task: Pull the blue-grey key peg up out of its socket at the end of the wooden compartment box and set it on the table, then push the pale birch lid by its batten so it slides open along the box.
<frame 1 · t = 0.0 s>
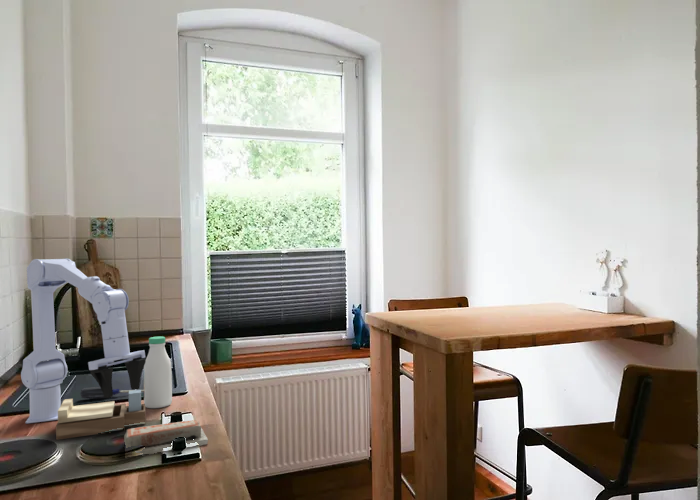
hand: (122, 393, 122), 11 cm above the counter, tool pointing down, fingers open, 7 cm apart
screwdriver: (127, 396, 157), on the counter
wooden compartment box: (93, 427, 129), on the counter
lid: (87, 407, 128), point 5 cm above the counter, slide at 0.0 cm
milk bottle: (158, 405, 147), on the counter
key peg: (135, 421, 133), resting in wooden compartment box
packaged product: (166, 446, 117), on the counter
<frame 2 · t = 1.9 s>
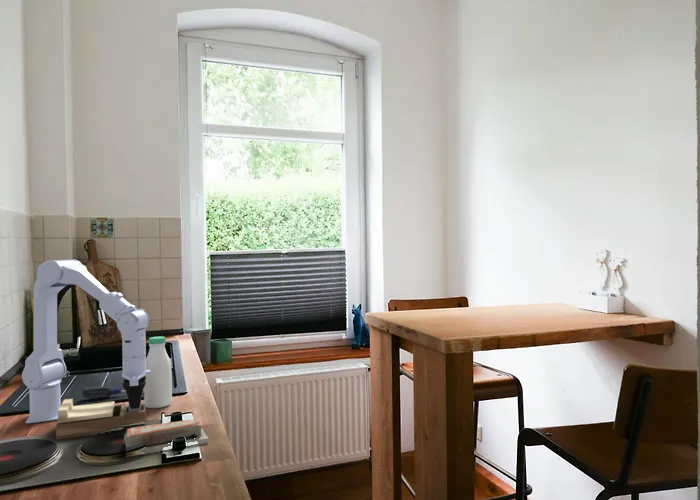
hand: (135, 406, 133), 4 cm above the counter, tool pointing down, fingers closed on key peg, 3 cm apart
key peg: (135, 421, 133), resting in wooden compartment box, touching gripper
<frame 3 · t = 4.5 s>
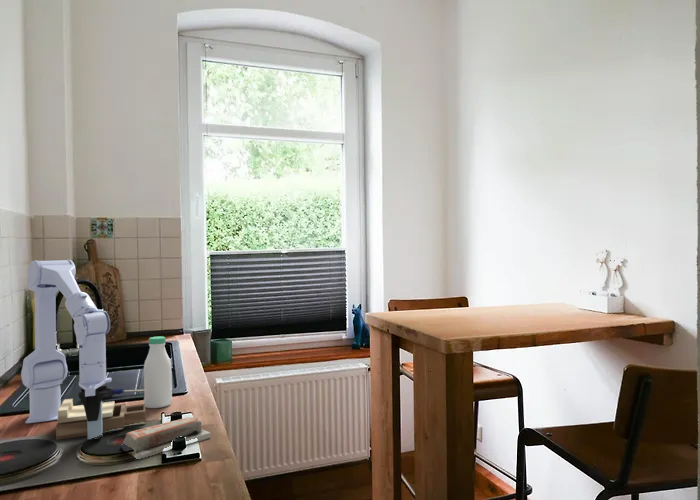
hand: (93, 418, 120), 5 cm above the counter, tool pointing down, fingers closed on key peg, 3 cm apart
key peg: (95, 436, 120), point 1 cm above the counter, touching gripper
when the fingers open (5 cm above the counter, at t = 4.6 s): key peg stays where it is, on the counter.
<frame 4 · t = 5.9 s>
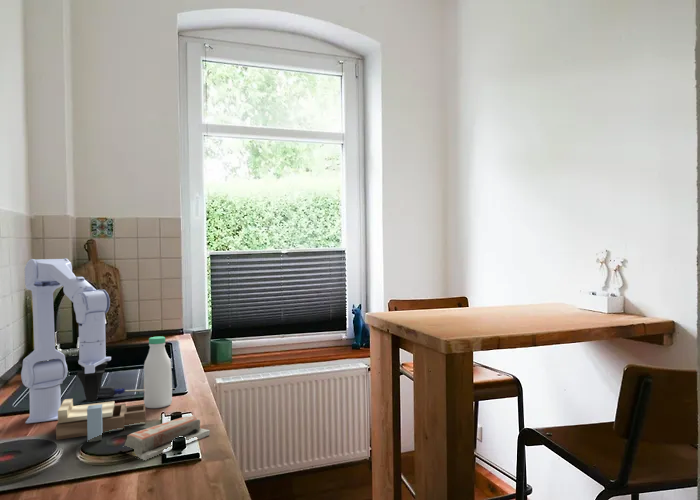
hand: (93, 396, 120), 10 cm above the counter, tool pointing down, fingers open, 6 cm apart
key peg: (95, 439, 120), on the counter
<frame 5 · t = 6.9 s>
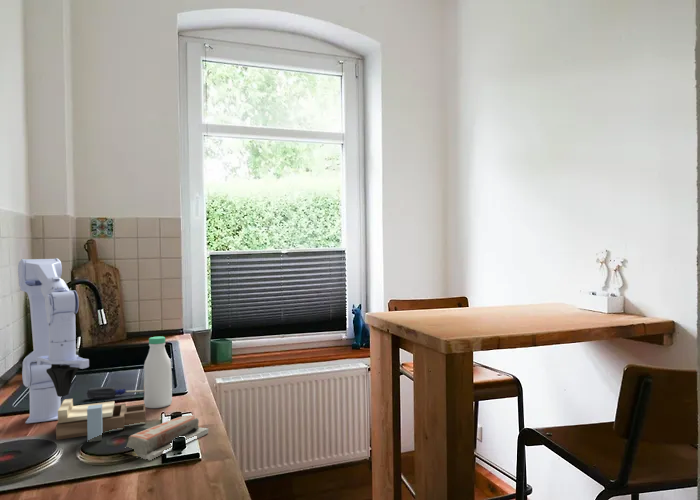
hand: (63, 395, 122), 10 cm above the counter, tool pointing down, fingers closed
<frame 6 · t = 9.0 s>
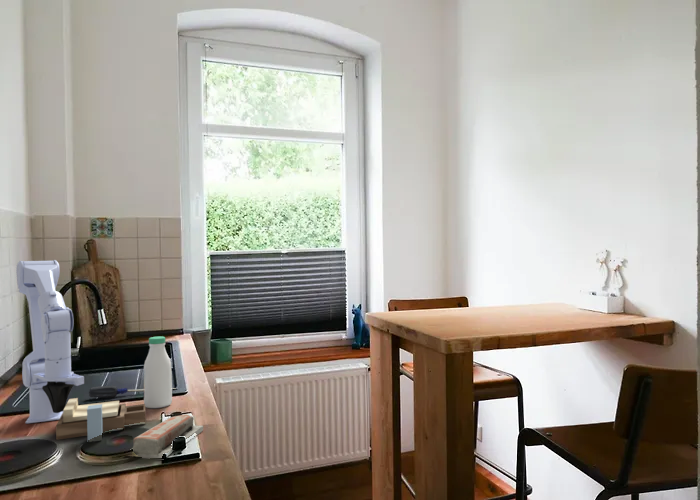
hand: (58, 411, 125), 5 cm above the counter, tool pointing down, fingers closed
lid: (92, 407, 129), point 5 cm above the counter, slide at 1.2 cm, touching gripper
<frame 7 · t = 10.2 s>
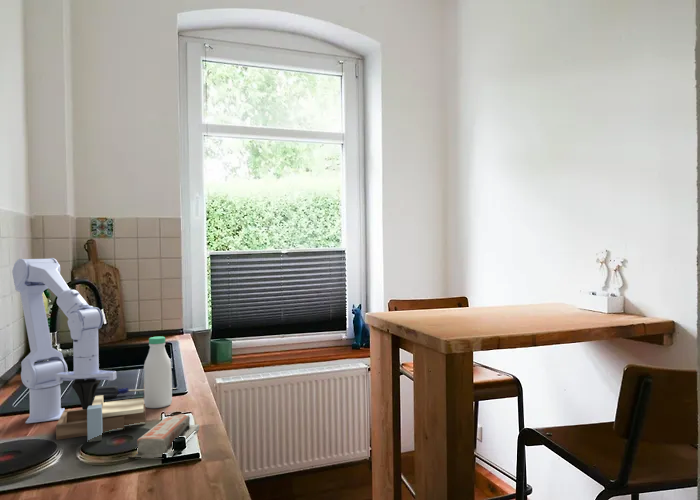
hand: (86, 408, 128), 5 cm above the counter, tool pointing down, fingers closed
lid: (118, 403, 131), point 5 cm above the counter, slide at 7.3 cm, touching gripper
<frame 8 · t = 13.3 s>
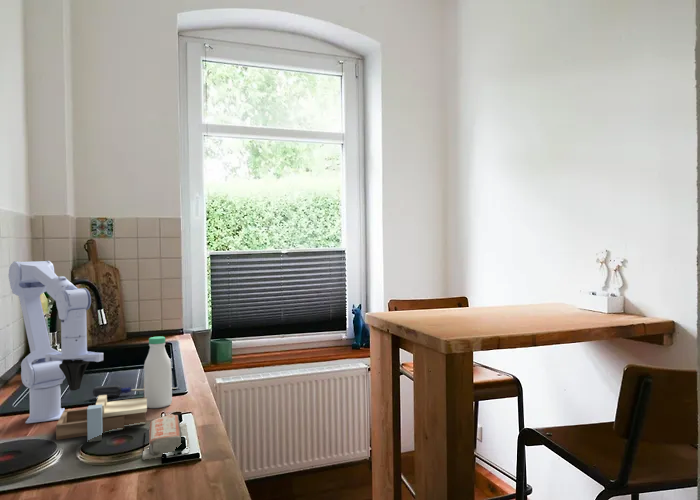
hand: (74, 389, 127), 10 cm above the counter, tool pointing down, fingers closed
lid: (122, 403, 132), point 5 cm above the counter, slide at 8.1 cm
at the end: lid slide at 8.1 cm; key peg inside the target area (0.3 cm from its centre), on the counter; the gripper is holding nothing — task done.
